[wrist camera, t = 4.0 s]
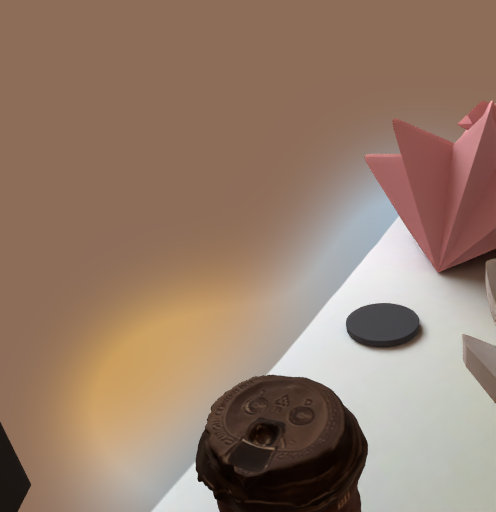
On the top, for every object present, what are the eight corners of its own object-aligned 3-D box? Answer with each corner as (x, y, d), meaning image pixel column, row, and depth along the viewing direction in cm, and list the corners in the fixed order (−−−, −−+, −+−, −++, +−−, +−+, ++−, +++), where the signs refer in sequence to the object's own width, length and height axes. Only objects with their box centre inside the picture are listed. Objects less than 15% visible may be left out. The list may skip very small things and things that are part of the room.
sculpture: (349, 259, 68) (333, 126, 60) (409, 216, 80) (402, 100, 72) (562, 294, 48) (579, 102, 40) (597, 229, 61) (615, 73, 53)
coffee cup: (274, 702, 21) (215, 525, 17) (220, 554, 29) (169, 401, 24) (412, 606, 24) (396, 428, 19) (330, 492, 31) (304, 344, 26)
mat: (337, 318, 53) (337, 312, 52) (400, 303, 53) (399, 297, 53) (361, 354, 45) (360, 347, 45) (433, 336, 46) (433, 330, 45)
